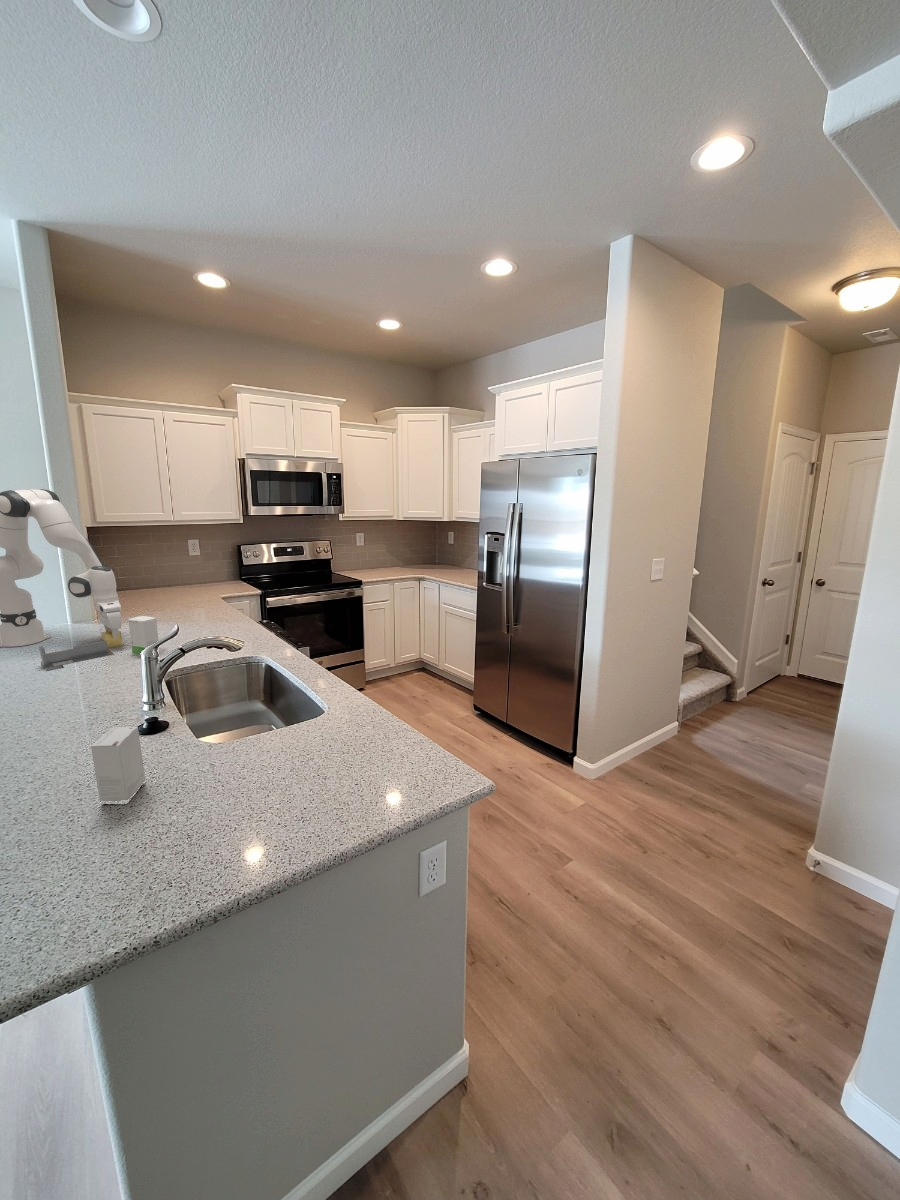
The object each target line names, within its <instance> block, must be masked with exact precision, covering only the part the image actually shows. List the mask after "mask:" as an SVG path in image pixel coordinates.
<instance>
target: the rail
mask: <svg viewBox="0 0 900 1200" xmlns="http://www.w3.org/2000/svg"><path fill="white" fill-rule="evenodd" d="M38 647H39V653H40V658H41V661H40V664H41V666H42V668H43V669H44V670H45V671H46V672H48V671H52V670H53V669H54V670H58V668H59V669H62V668H65V665H66V666H67V665H70V664H75V663H80V662H85V661H89V660H95V659H99V658H103V657H109V656H114V655H115V653H114V652H112V651H111V650H110V648H108V647H107V641H102V640H101V641H95V642H91V643H85V644H80V645H74V646H72V648H70V649H63V650H59V651H54V652H53V651H52V652H48V653H46V650H45V647H44V646H41V645H40V646H38Z"/></svg>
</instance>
